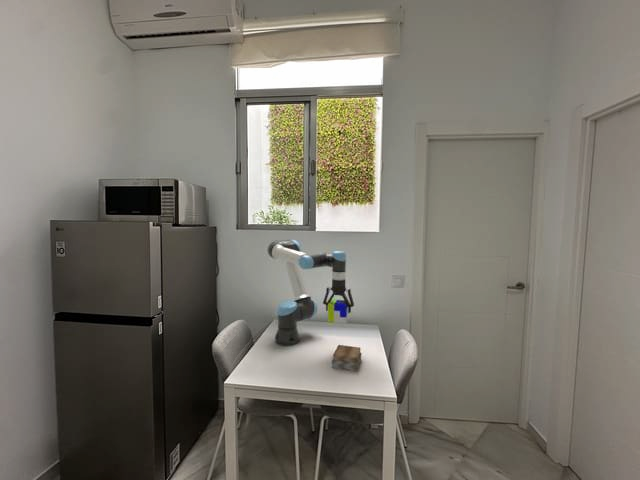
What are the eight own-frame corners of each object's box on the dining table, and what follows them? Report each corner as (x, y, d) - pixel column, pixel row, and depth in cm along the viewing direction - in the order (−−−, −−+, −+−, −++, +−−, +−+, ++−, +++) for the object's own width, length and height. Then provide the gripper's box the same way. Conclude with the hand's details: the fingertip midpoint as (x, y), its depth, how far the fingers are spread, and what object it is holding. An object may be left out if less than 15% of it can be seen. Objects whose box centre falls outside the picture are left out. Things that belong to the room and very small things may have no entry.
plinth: (332, 367, 156) (332, 354, 155) (337, 356, 168) (337, 344, 168) (357, 371, 152) (357, 358, 152) (361, 359, 165) (361, 347, 164)
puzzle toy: (345, 323, 168) (346, 305, 167) (327, 322, 170) (328, 304, 169) (347, 317, 178) (348, 300, 177) (331, 316, 180) (331, 299, 179)
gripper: (317, 278, 172) (317, 317, 173) (357, 281, 165) (357, 321, 167) (321, 276, 179) (320, 313, 181) (360, 278, 173) (359, 317, 174)
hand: (338, 317), depth 174 cm, fingers closed on puzzle toy, 10 cm apart
